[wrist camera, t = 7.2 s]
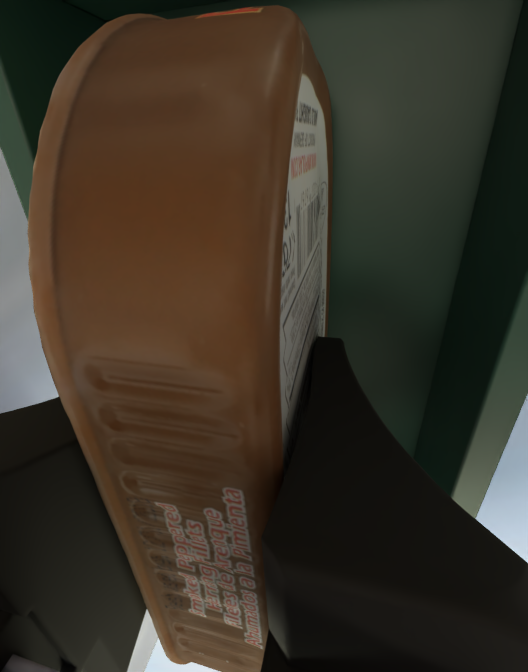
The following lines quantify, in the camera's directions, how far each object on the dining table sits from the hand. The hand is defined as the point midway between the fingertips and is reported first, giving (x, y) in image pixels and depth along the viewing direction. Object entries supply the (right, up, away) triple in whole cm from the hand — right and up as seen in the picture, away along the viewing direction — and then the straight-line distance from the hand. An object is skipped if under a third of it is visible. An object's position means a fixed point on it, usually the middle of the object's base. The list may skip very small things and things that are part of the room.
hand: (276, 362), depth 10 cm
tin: (+1, +1, +2) cm, 3 cm away
